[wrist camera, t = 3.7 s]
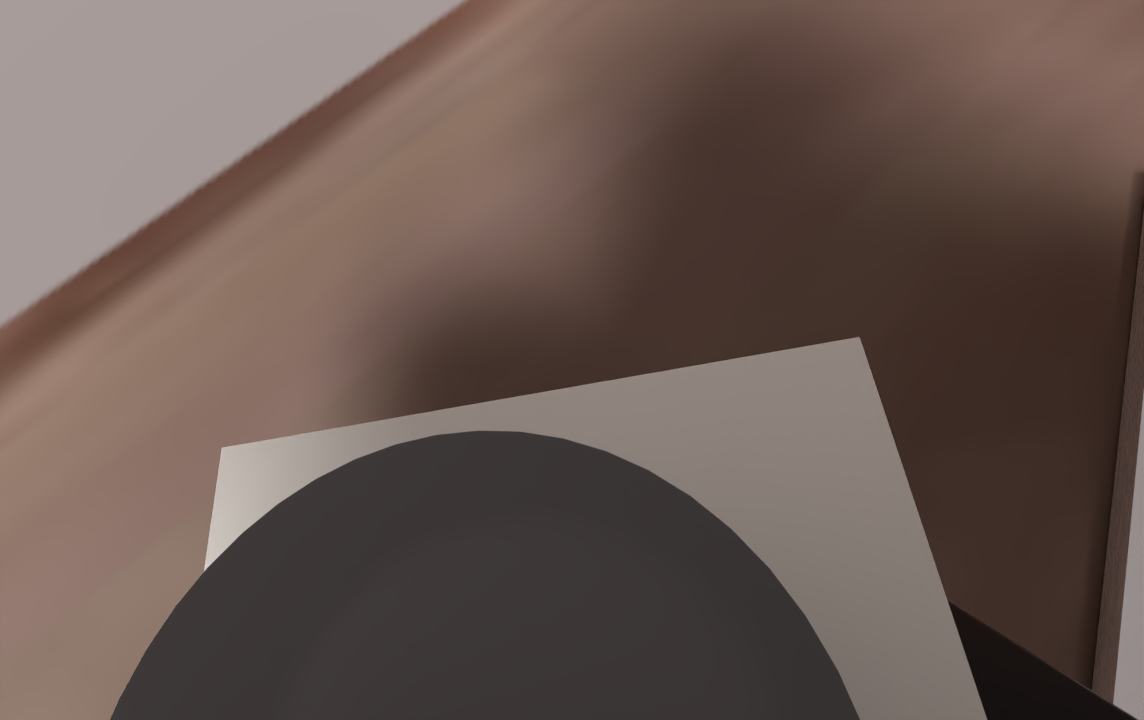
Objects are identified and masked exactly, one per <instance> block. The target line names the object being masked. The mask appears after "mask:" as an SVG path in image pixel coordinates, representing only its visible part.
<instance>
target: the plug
mask: <svg viewBox="0 0 1144 720" xmlns="http://www.w3.org/2000/svg"><path fill="white" fill-rule="evenodd" d="M110 720H987V718H986V715H985V712H984V709H983V706H982V703H981V700H980V697H979V694H978V691H977V688H976V685H975V682H974V679H973V676H972V673H971V670H970V667H969V664H968V661H967V658H966V655H965V652H964V649H963V646H962V643H961V640H960V637H959V634H958V631H957V628H956V625H955V622H954V619H953V616H952V613H951V610H950V607H949V604H948V601H947V598H946V595H945V592H944V589H943V586H942V583H941V580H940V577H939V574H938V571H937V568H936V565H935V562H934V559H933V556H932V553H931V550H930V547H929V544H928V541H927V538H926V535H925V532H924V529H923V526H922V523H921V520H920V517H919V514H918V511H917V508H916V505H915V502H914V499H913V496H912V493H911V490H910V487H909V484H908V481H907V478H906V475H905V472H904V469H903V466H902V463H901V460H900V457H899V454H898V451H897V448H896V445H895V442H894V439H893V436H892V433H891V430H890V427H889V424H888V421H887V418H886V415H885V412H884V409H883V406H882V403H881V400H880V397H879V394H878V391H877V388H876V385H875V382H874V379H873V376H872V373H871V370H870V367H869V364H868V361H867V358H866V355H865V352H864V349H863V346H862V343H861V340H860V337H856V338H850V339H844V340H839V341H833V342H827V343H821V344H816V345H810V346H804V347H798V348H793V349H787V350H781V351H775V352H770V353H764V354H758V355H752V356H747V357H741V358H735V359H729V360H724V361H718V362H712V363H706V364H701V365H695V366H689V367H683V368H678V369H672V370H666V371H661V372H655V373H649V374H643V375H638V376H632V377H626V378H620V379H615V380H609V381H603V382H597V383H592V384H586V385H580V386H574V387H569V388H563V389H557V390H551V391H546V392H540V393H534V394H528V395H523V396H517V397H511V398H505V399H500V400H494V401H488V402H482V403H477V404H471V405H465V406H459V407H454V408H448V409H442V410H436V411H431V412H425V413H419V414H414V415H408V416H402V417H396V418H391V419H385V420H379V421H373V422H368V423H362V424H356V425H350V426H345V427H339V428H333V429H327V430H322V431H316V432H310V433H304V434H299V435H293V436H287V437H281V438H276V439H270V440H264V441H258V442H253V443H247V444H241V445H235V446H230V447H224V448H222V451H221V458H220V465H219V472H218V478H217V485H216V492H215V499H214V506H213V513H212V520H211V527H210V534H209V541H208V548H207V554H206V561H205V568H204V573H203V574H202V575H201V576H200V578H199V579H198V580H197V581H196V582H195V584H194V585H193V586H192V587H191V589H190V590H189V591H188V592H187V593H186V595H185V596H184V597H183V598H182V600H181V601H180V602H179V603H178V604H177V606H176V607H175V608H174V610H173V611H172V613H171V614H170V616H169V617H168V619H167V620H166V622H165V623H164V625H163V626H162V628H161V629H160V631H159V632H158V634H157V635H156V637H155V638H154V640H153V641H152V642H151V644H150V645H149V647H148V648H147V650H146V652H145V653H144V655H143V657H142V659H141V661H140V662H139V664H138V666H137V668H136V670H135V672H134V673H133V675H132V677H131V679H130V681H129V683H128V684H127V686H126V688H125V690H124V692H123V693H122V695H121V697H120V699H119V701H118V703H117V706H116V708H115V710H114V712H113V715H112V717H111V719H110Z"/></svg>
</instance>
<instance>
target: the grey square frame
mask: <svg viewBox="0 0 1144 720" xmlns="http://www.w3.org/2000/svg"><path fill="white" fill-rule="evenodd" d="M1092 691H1093V692H1095V693H1096V694H1098V695H1100V696H1101V697H1103V698H1104V699H1106V700H1108V701H1109V702H1111V703H1112V704H1114V705H1116V706H1117V707H1119V708H1120V709H1122V710H1124V711H1125V712H1127V713H1128V714H1130V715H1132V716H1133V717H1135V718H1136V719H1138V720H1144V211H1143V220H1142V229H1141V239H1140V248H1139V257H1138V266H1137V275H1136V285H1135V294H1134V303H1133V312H1132V322H1131V331H1130V340H1129V349H1128V358H1127V368H1126V377H1125V386H1124V395H1123V404H1122V414H1121V423H1120V432H1119V441H1118V450H1117V460H1116V469H1115V478H1114V487H1113V497H1112V506H1111V515H1110V524H1109V533H1108V543H1107V552H1106V561H1105V570H1104V579H1103V589H1102V598H1101V607H1100V616H1099V625H1098V635H1097V644H1096V653H1095V662H1094V672H1093V681H1092Z"/></svg>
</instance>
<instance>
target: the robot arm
mask: <svg viewBox="0 0 1144 720" xmlns="http://www.w3.org/2000/svg"><path fill="white" fill-rule="evenodd" d="M948 604H949V607H950V610H951V613H952V616H953V619H954V622H955V625H956V628H957V631H958V634H959V637H960V640H961V643H962V646H963V649H964V652H965V655H966V658H967V661H968V664H969V667H970V670H971V673H972V676H973V679H974V682H975V685H976V688H977V691H978V694H979V697H980V700H981V703H982V706H983V709H984V712H985V715H986V718H987V720H1138V719H1136V718H1135V717H1133V716H1132V715H1130V714H1128V713H1127V712H1125V711H1124V710H1122V709H1120V708H1119V707H1117V706H1116V705H1114V704H1112V703H1111V702H1109V701H1108V700H1106V699H1104V698H1103V697H1101V696H1100V695H1098V694H1096V693H1095V692H1093V691H1092V690H1090V689H1088V688H1087V687H1085V686H1084V685H1082V684H1080V683H1079V682H1077V681H1076V680H1074V679H1072V678H1071V677H1069V676H1068V675H1066V674H1064V673H1063V672H1061V671H1060V670H1058V669H1056V668H1055V667H1053V666H1052V665H1050V664H1048V663H1047V662H1045V661H1044V660H1042V659H1040V658H1039V657H1037V656H1035V655H1034V654H1032V653H1031V652H1029V651H1027V650H1026V649H1024V648H1023V647H1021V646H1019V645H1018V644H1016V643H1015V642H1013V641H1011V640H1010V639H1008V638H1007V637H1005V636H1003V635H1002V634H1000V633H999V632H997V631H995V630H994V629H992V628H991V627H989V626H987V625H986V624H984V623H983V622H981V621H979V620H978V619H976V618H975V617H973V616H971V615H970V614H968V613H967V612H965V611H963V610H962V609H960V608H959V607H957V606H955V605H954V604H952V603H951V602H949V601H948Z"/></svg>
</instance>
